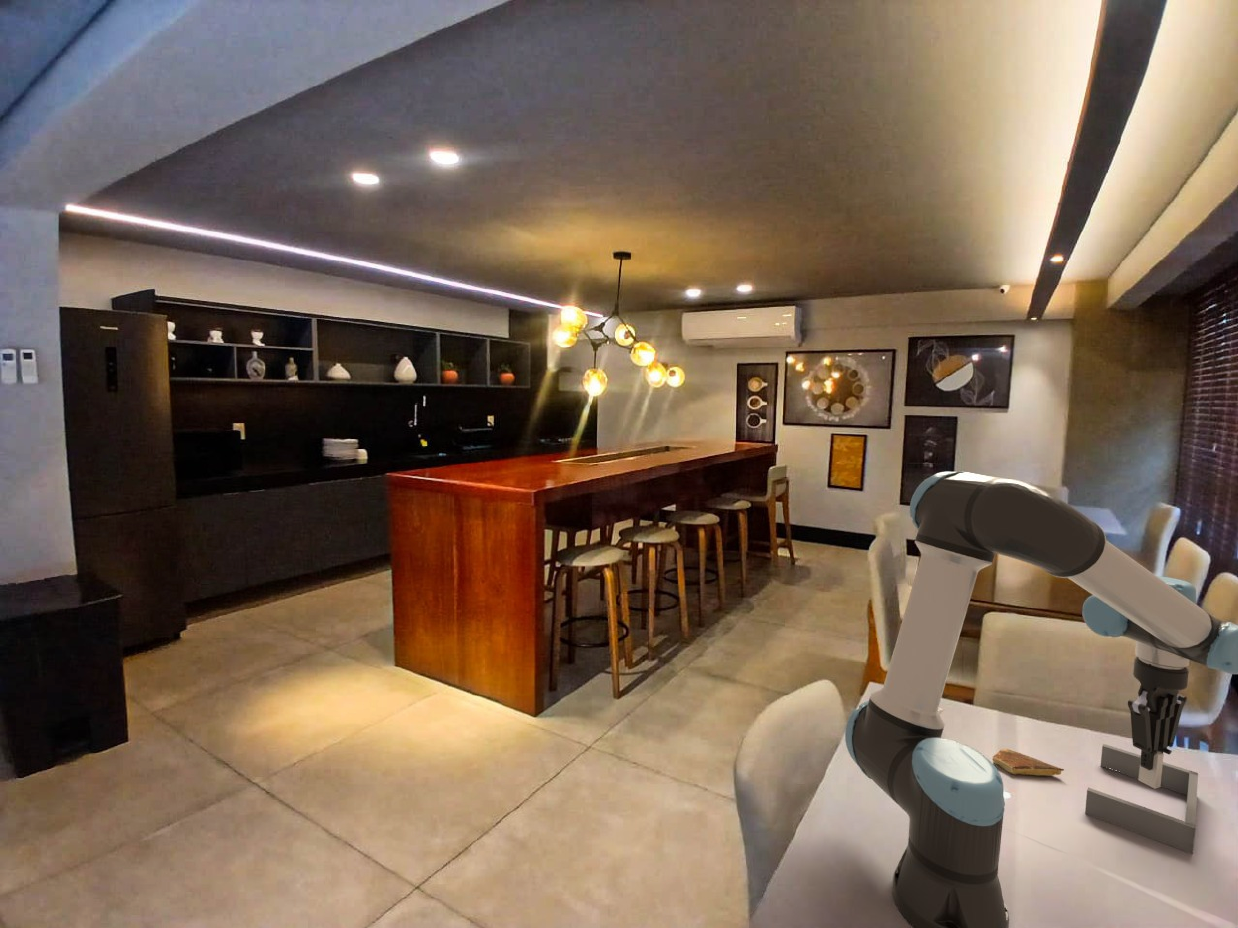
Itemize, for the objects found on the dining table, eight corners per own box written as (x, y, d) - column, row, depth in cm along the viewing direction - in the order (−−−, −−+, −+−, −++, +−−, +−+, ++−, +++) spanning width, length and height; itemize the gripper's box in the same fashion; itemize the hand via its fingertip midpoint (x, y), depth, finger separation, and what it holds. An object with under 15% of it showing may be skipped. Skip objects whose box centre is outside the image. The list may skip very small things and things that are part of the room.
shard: (1064, 776, 124) (1064, 767, 124) (1051, 791, 119) (1051, 782, 119) (1003, 753, 132) (1004, 745, 132) (989, 766, 127) (990, 758, 127)
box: (1085, 813, 113) (1087, 790, 113) (1101, 764, 129) (1103, 743, 129) (1192, 853, 103) (1195, 828, 103) (1195, 794, 119) (1198, 772, 119)
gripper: (1161, 674, 107) (1149, 802, 109) (1208, 665, 112) (1195, 788, 114) (1115, 658, 114) (1103, 778, 117) (1160, 650, 119) (1149, 766, 121)
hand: (1149, 783), depth 115 cm, fingers closed
